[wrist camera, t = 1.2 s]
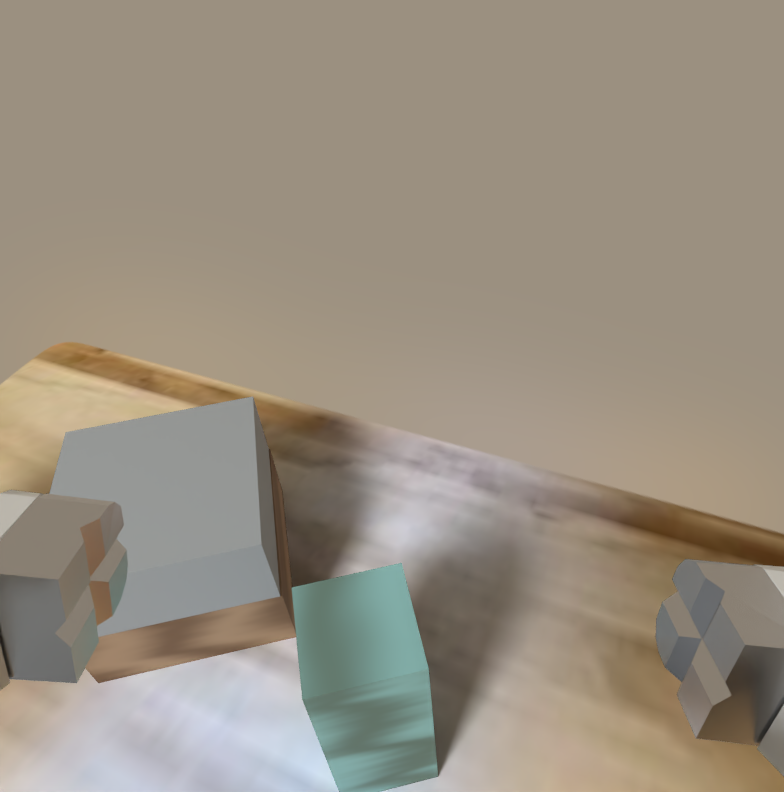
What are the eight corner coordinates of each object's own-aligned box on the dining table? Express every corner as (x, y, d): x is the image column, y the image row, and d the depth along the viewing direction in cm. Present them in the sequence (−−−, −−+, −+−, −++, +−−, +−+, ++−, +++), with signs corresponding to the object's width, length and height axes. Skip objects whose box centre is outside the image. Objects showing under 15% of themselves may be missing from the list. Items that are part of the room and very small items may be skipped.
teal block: (415, 682, 37) (401, 563, 29) (438, 776, 33) (428, 668, 25) (330, 703, 36) (291, 587, 28) (343, 801, 32) (302, 699, 24)
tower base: (283, 494, 48) (269, 449, 45) (298, 639, 39) (282, 596, 36) (123, 528, 47) (97, 484, 44) (100, 685, 38) (66, 645, 35)
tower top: (268, 449, 45) (252, 396, 42) (280, 596, 36) (261, 544, 33) (96, 483, 44) (65, 432, 41) (64, 644, 35) (21, 595, 32)
